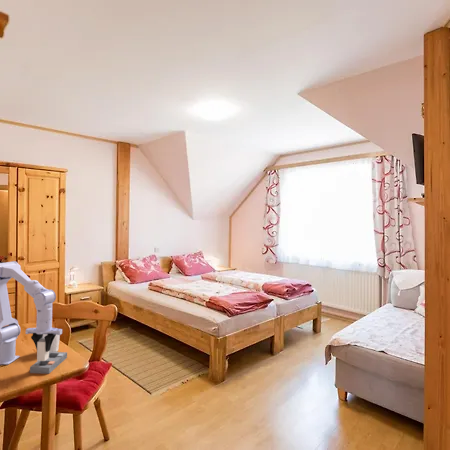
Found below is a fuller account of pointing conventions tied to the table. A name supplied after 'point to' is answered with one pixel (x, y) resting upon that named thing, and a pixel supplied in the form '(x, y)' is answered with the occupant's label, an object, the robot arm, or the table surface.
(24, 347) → the table surface
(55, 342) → the white cup
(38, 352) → the plug
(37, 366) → the socket strip
